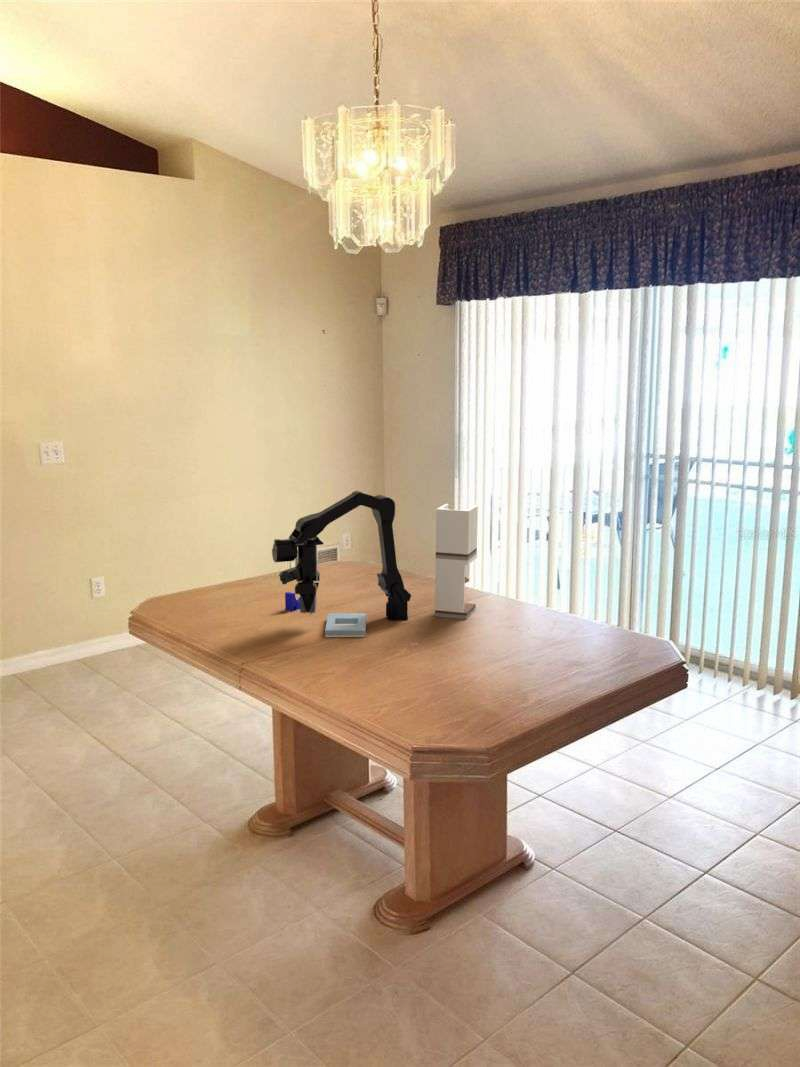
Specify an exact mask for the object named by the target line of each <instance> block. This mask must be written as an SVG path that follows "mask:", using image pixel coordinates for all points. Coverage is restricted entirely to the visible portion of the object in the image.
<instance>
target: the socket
mask: <svg viewBox="0 0 800 1067" xmlns="http://www.w3.org/2000/svg"><path fill="white" fill-rule="evenodd" d="M366 628H367V613H366V612H364V613H363V612H361V613H359V612H358V613H357V612H355V613H354V612H352V613H351V612H350V613H346V612H345V613H344V612H343V613H340V612H338V613H337V612H335V613H332V612H331V613H328V614H327V619H326V624H325V629H324V637H325V638H347V637H348V638H350V637H351V638H353V637H354V638H366V632H367V630H366Z"/></svg>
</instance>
